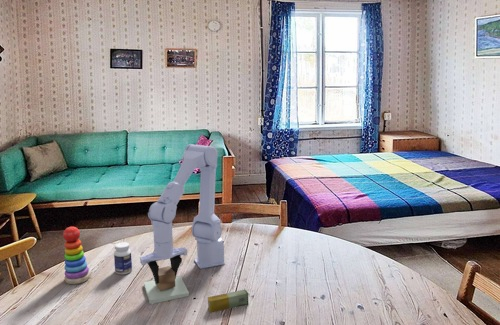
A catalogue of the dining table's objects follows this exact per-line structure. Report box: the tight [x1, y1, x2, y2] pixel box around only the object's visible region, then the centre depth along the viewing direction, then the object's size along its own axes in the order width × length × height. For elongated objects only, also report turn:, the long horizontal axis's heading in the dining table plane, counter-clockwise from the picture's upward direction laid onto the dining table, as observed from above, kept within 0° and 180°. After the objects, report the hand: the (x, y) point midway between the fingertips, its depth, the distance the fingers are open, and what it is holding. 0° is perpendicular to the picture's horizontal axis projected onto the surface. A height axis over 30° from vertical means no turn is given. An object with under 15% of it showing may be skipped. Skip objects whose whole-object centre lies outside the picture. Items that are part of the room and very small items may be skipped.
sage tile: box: [143, 275, 190, 305], centre depth 131 cm, size 12×12×1 cm
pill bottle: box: [113, 241, 133, 275], centre depth 144 cm, size 6×6×10 cm
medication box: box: [207, 289, 249, 314], centre depth 122 cm, size 12×3×4 cm, turn 111°
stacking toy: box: [62, 226, 91, 285], centre depth 137 cm, size 8×8×19 cm
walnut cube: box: [155, 265, 175, 291], centre depth 131 cm, size 5×5×5 cm
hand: (165, 280), depth 131 cm, fingers closed on walnut cube, 5 cm apart
